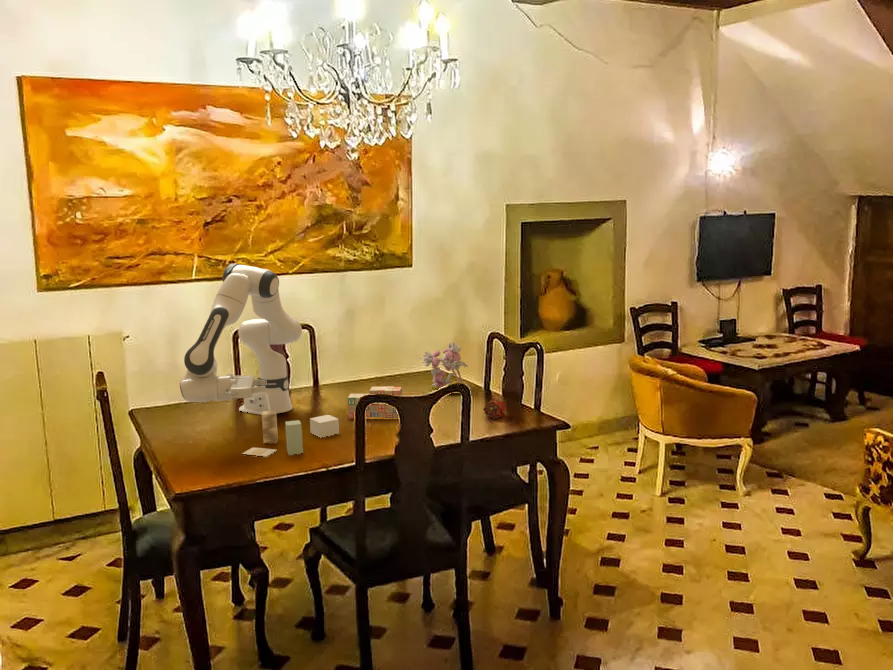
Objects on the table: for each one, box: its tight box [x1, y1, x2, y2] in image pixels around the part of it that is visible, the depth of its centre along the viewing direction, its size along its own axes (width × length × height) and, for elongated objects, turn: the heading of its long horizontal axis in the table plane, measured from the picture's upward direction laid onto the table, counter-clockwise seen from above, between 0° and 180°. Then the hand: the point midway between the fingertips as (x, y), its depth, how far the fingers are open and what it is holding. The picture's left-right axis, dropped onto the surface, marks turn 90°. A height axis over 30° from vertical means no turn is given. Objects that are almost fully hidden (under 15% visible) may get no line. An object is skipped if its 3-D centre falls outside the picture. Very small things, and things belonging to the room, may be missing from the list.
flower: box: [419, 340, 469, 389], centre depth 382 cm, size 20×22×25 cm
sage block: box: [285, 419, 304, 456], centre depth 305 cm, size 5×5×11 cm
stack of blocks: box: [347, 385, 403, 420], centre depth 345 cm, size 21×6×12 cm, turn 84°
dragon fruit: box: [482, 397, 507, 420], centre depth 341 cm, size 8×8×12 cm
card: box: [241, 446, 278, 458], centre depth 306 cm, size 10×7×1 cm
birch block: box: [261, 411, 279, 444], centre depth 318 cm, size 5×5×11 cm
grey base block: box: [309, 414, 340, 439], centre depth 326 cm, size 8×8×6 cm
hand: (266, 385), depth 312 cm, fingers open, 8 cm apart
